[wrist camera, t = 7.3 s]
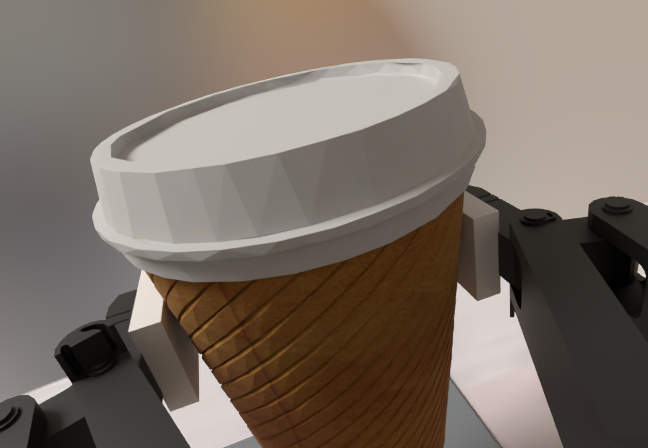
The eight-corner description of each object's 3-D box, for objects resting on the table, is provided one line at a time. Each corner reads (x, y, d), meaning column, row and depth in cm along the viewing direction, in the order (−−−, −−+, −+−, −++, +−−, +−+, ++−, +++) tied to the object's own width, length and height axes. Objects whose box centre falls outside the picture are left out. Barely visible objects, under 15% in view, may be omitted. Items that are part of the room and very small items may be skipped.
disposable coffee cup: (341, 311, 22) (284, 66, 16) (541, 394, 16) (554, 40, 10) (180, 458, 16) (12, 158, 11) (390, 683, 10) (237, 231, 4)
